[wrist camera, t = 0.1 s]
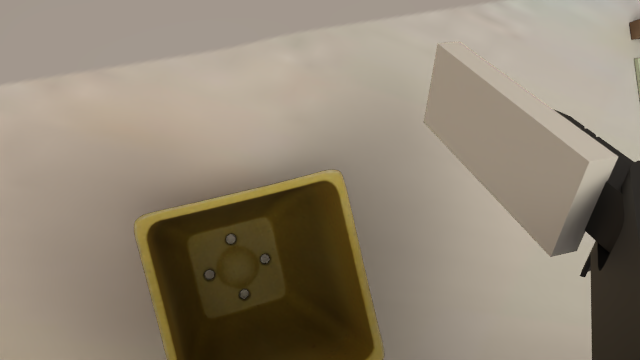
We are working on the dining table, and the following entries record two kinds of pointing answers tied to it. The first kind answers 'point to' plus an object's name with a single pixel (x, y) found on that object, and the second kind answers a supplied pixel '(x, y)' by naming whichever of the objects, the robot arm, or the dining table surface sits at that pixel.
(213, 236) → the flower pot
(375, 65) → the dining table surface
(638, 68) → the pad
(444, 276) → the dining table surface
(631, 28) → the channel walls
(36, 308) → the dining table surface
